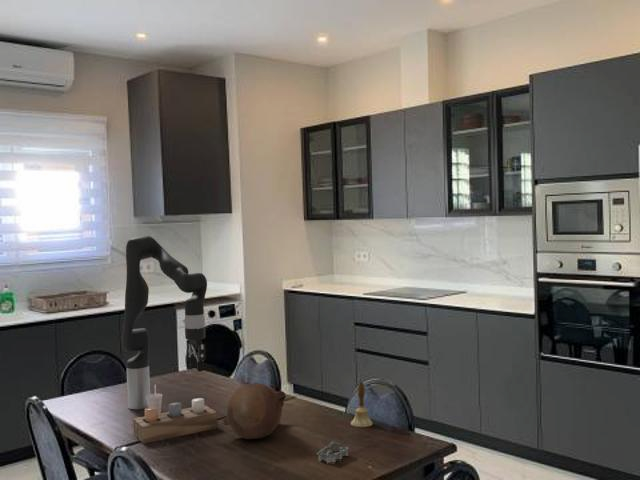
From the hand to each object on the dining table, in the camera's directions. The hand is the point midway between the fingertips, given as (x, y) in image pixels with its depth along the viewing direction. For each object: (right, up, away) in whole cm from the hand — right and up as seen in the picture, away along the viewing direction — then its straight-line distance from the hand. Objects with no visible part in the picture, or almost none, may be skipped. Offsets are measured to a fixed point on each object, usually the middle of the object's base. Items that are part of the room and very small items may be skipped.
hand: (196, 369), depth 241 cm
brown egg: (-15, -19, -9) cm, 25 cm away
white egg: (+1, -18, +1) cm, 18 cm away
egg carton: (+51, -22, -35) cm, 66 cm away
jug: (+25, -22, -8) cm, 34 cm away
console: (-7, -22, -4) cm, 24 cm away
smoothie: (-19, -22, +11) cm, 31 cm away
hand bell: (+63, -20, -2) cm, 66 cm away
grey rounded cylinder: (-7, -18, -4) cm, 20 cm away
